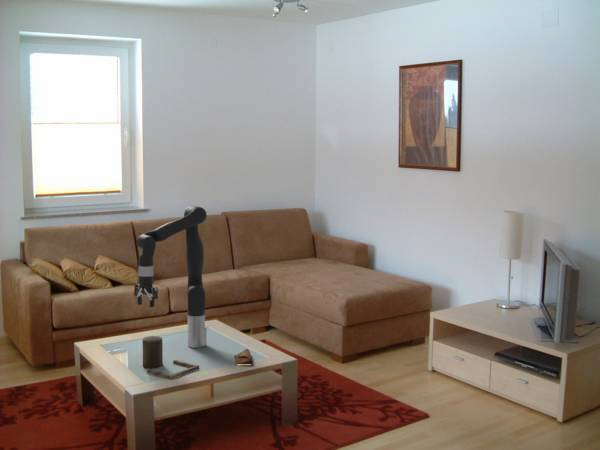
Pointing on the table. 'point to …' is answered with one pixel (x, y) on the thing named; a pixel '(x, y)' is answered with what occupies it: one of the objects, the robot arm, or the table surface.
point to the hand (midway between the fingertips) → (145, 305)
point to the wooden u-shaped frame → (191, 367)
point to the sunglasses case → (243, 357)
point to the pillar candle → (152, 352)
